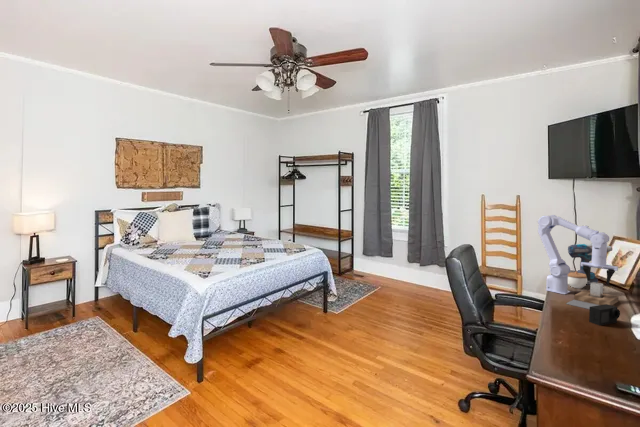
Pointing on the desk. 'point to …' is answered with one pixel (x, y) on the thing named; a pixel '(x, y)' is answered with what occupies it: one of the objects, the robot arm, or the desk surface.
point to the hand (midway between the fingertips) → (598, 281)
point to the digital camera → (603, 314)
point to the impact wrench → (584, 257)
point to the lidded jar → (577, 279)
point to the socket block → (596, 298)
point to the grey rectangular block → (596, 289)
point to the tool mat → (581, 304)
